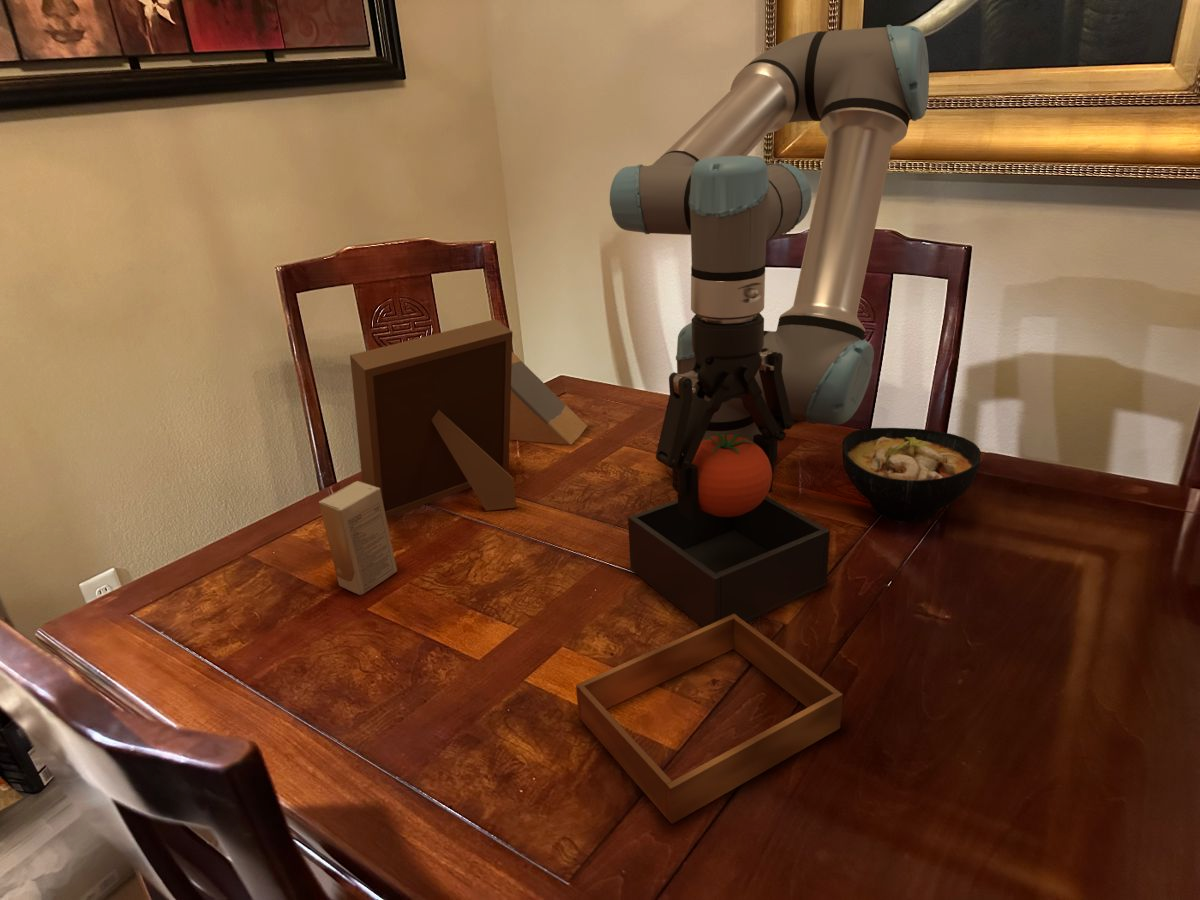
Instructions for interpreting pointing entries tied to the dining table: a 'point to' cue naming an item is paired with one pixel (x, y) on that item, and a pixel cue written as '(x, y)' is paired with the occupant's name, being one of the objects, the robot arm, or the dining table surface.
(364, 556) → the cosmetic box
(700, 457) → the tomato
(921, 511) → the bowl
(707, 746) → the dining table surface
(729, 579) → the black square bin
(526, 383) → the sandwich container
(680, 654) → the box
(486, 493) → the photo frame
